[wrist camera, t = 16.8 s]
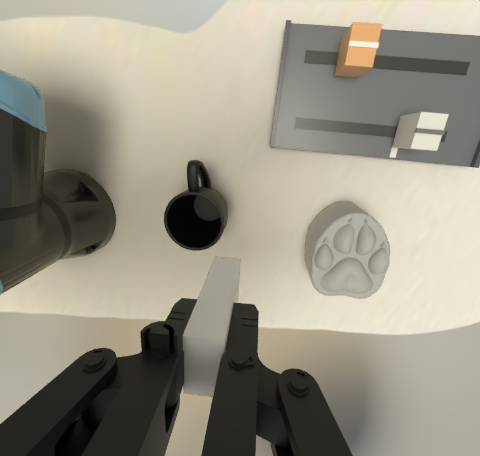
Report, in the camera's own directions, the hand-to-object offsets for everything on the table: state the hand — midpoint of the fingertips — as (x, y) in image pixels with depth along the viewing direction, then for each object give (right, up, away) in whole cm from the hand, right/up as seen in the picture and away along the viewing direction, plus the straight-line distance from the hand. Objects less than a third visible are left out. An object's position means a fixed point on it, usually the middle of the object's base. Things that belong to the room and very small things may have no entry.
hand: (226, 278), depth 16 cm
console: (+20, +21, +21) cm, 36 cm away
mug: (-4, +9, +28) cm, 29 cm away
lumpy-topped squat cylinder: (+17, +1, +28) cm, 33 cm away
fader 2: (+23, +16, +19) cm, 34 cm away
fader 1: (+15, +24, +18) cm, 33 cm away
